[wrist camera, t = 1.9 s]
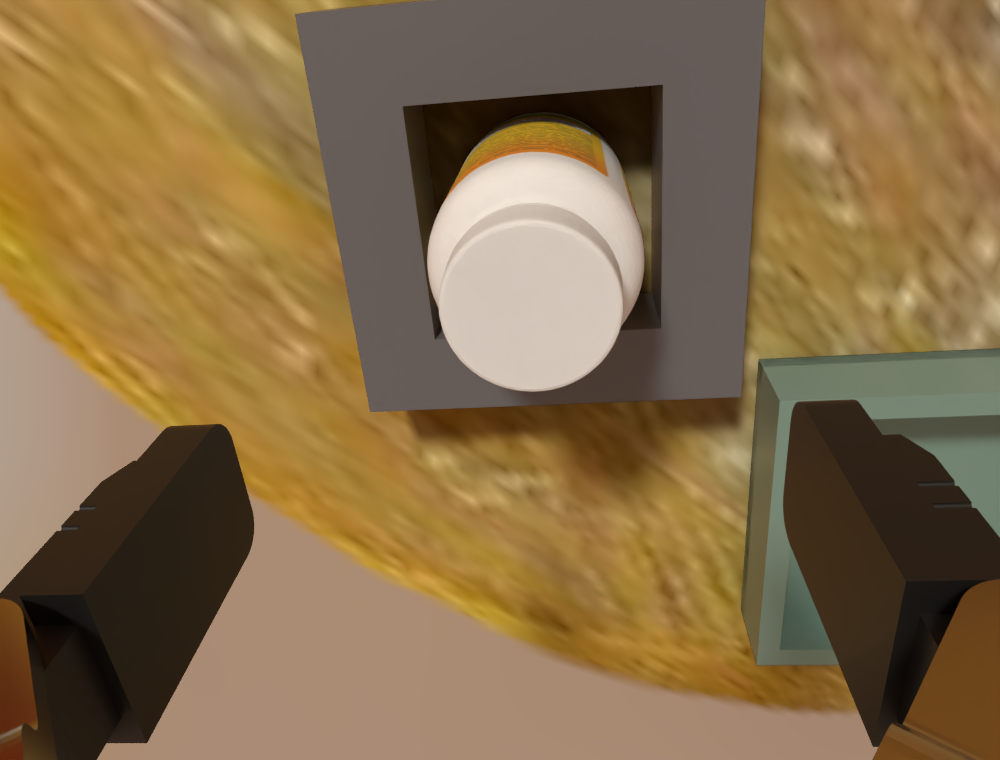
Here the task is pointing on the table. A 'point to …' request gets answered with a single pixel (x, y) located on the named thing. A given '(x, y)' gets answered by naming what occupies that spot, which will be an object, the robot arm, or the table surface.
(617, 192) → the supplement bottle
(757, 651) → the tray
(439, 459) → the table surface
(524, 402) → the socket block
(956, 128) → the table surface
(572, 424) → the table surface
